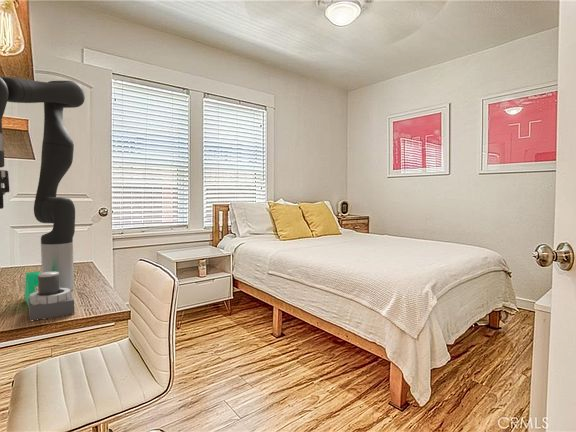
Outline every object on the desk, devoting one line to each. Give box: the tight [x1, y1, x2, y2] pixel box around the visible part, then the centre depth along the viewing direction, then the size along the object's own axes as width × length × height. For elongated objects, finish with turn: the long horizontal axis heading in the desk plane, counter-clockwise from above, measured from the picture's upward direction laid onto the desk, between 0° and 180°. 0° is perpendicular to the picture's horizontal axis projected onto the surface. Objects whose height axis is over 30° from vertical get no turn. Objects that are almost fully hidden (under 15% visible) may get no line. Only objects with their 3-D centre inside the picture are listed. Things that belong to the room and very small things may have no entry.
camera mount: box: [24, 271, 41, 305], centre depth 104 cm, size 12×8×10 cm, turn 44°
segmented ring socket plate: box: [27, 288, 75, 322], centre depth 96 cm, size 10×10×6 cm
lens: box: [37, 272, 60, 296], centre depth 95 cm, size 5×5×8 cm
